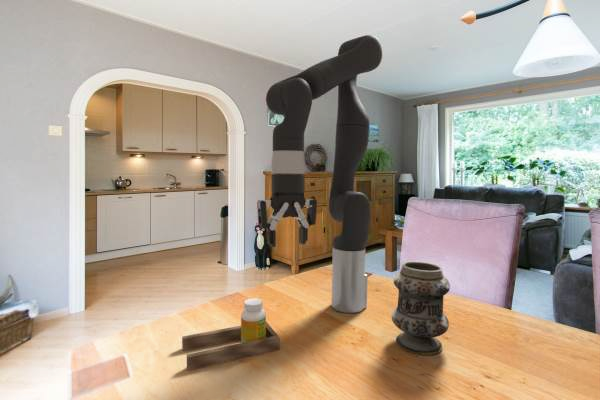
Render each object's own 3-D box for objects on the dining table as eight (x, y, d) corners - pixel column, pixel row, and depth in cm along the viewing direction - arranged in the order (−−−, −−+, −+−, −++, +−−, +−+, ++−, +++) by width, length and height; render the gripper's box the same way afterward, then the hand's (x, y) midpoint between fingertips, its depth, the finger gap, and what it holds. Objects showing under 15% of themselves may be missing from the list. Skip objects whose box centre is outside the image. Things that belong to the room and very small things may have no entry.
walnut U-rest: (265, 331, 79) (265, 320, 79) (279, 349, 71) (279, 337, 71) (182, 348, 71) (182, 336, 71) (187, 370, 63) (187, 357, 63)
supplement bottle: (261, 351, 70) (261, 307, 69) (237, 348, 71) (237, 305, 70) (268, 339, 75) (268, 298, 74) (246, 336, 76) (246, 296, 76)
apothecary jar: (445, 336, 78) (448, 261, 77) (450, 363, 67) (454, 276, 65) (392, 327, 82) (394, 256, 81) (388, 351, 71) (391, 269, 69)
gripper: (309, 172, 80) (308, 239, 81) (252, 171, 74) (252, 244, 75) (324, 172, 73) (323, 245, 75) (263, 171, 67) (262, 251, 69)
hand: (287, 244), depth 75 cm, fingers open, 7 cm apart
